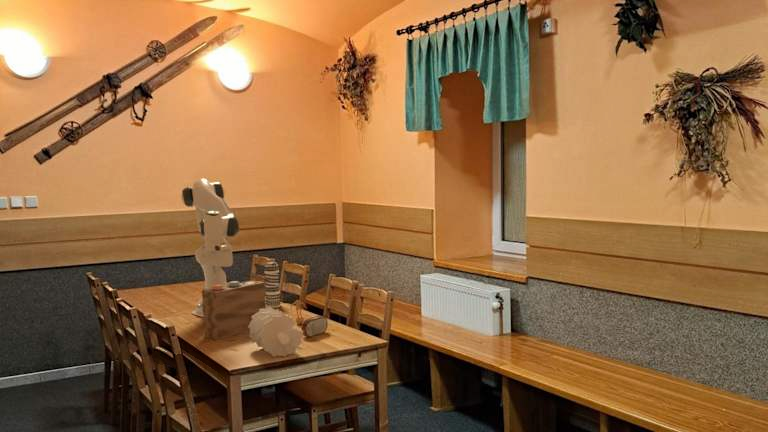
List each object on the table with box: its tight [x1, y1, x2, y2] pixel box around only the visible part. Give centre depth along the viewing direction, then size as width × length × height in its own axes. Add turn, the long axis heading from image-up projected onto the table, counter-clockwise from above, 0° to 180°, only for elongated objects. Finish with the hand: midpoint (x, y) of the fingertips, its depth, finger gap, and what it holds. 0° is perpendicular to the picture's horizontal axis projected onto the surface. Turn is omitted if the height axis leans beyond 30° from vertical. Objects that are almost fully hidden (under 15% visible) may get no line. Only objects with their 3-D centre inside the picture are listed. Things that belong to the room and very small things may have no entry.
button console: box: [201, 280, 267, 340], centre depth 331 cm, size 10×30×22 cm, turn 143°
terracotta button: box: [212, 285, 223, 291], centre depth 322 cm, size 5×5×2 cm
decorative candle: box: [263, 261, 282, 309], centre depth 388 cm, size 9×9×25 cm
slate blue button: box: [228, 280, 240, 288], centre depth 330 cm, size 5×5×2 cm
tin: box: [301, 315, 328, 338], centre depth 319 cm, size 15×3×8 cm, turn 141°
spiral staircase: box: [248, 307, 304, 358], centre depth 292 cm, size 18×18×25 cm
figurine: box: [290, 299, 308, 325], centre depth 343 cm, size 8×6×12 cm
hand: (216, 275), depth 322 cm, fingers closed
